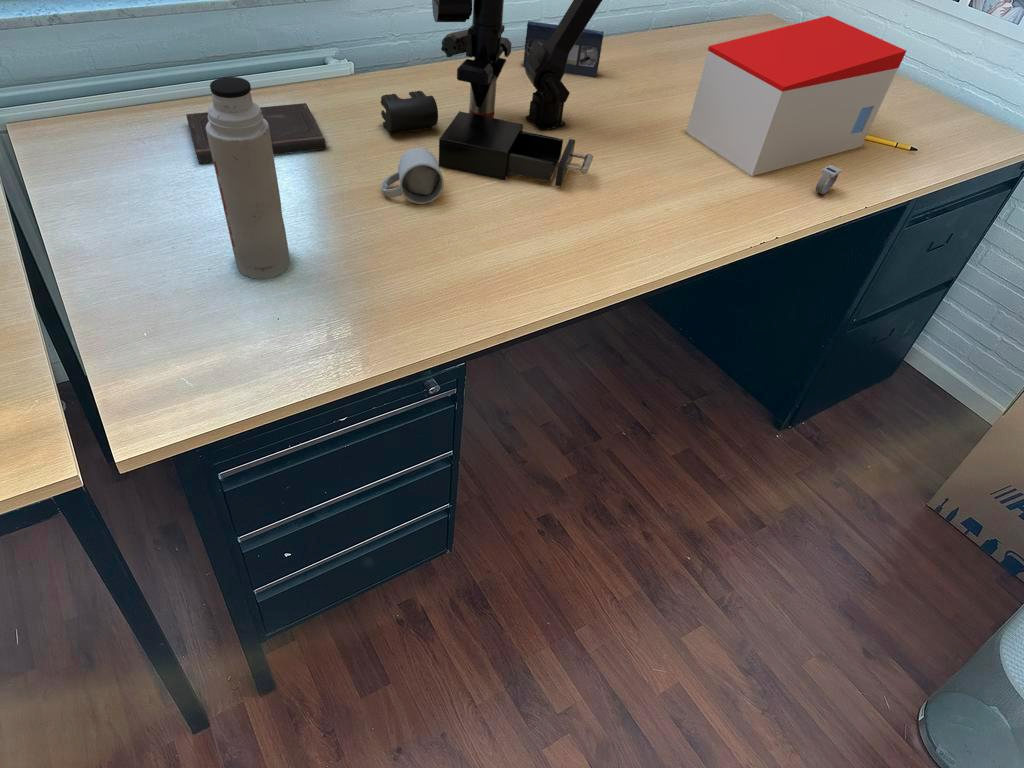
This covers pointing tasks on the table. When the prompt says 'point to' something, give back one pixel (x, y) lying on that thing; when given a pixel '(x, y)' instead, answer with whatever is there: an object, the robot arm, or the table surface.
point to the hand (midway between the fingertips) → (482, 101)
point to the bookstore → (792, 93)
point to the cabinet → (478, 145)
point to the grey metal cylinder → (488, 104)
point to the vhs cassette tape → (581, 55)
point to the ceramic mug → (416, 177)
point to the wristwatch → (828, 172)
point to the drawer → (543, 157)
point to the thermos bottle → (247, 179)
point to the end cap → (409, 112)
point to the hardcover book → (286, 126)
